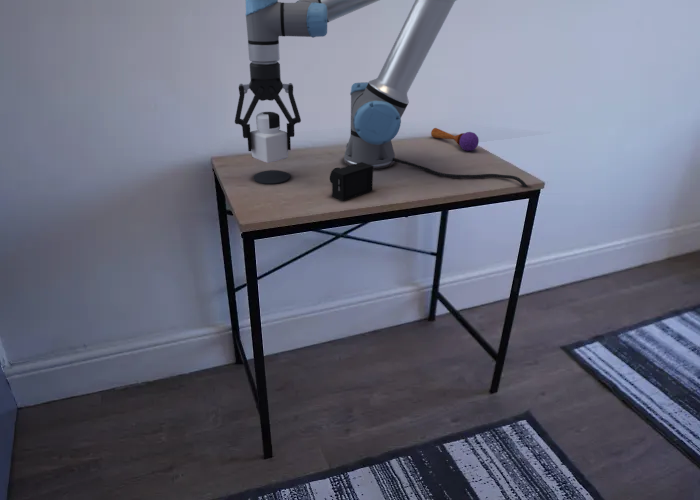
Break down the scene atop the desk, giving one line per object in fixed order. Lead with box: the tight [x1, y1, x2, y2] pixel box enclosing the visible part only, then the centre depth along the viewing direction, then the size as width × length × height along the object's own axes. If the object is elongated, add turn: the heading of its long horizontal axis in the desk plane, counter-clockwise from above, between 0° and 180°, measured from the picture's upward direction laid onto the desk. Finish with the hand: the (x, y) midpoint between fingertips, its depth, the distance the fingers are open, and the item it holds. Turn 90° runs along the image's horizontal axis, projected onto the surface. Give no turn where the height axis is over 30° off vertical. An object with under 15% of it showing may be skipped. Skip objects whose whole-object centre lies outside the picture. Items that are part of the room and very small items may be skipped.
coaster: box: [253, 169, 291, 185], centre depth 145 cm, size 10×10×1 cm
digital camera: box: [329, 162, 374, 202], centre depth 134 cm, size 10×5×7 cm, turn 133°
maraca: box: [430, 127, 480, 152], centre depth 173 cm, size 6×6×20 cm
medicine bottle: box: [250, 111, 289, 164], centre depth 140 cm, size 7×7×12 cm
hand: (269, 149), depth 141 cm, fingers closed on medicine bottle, 10 cm apart
